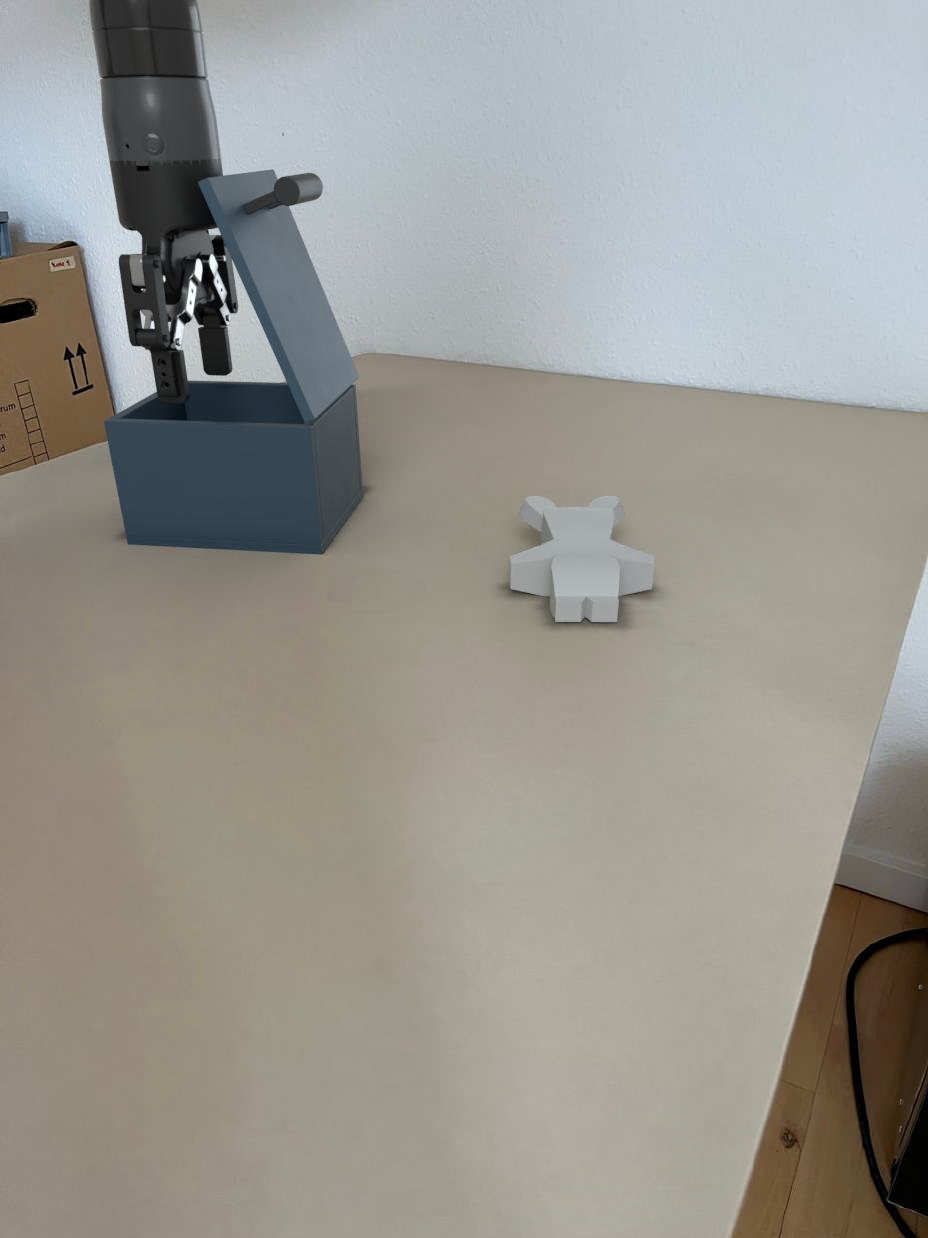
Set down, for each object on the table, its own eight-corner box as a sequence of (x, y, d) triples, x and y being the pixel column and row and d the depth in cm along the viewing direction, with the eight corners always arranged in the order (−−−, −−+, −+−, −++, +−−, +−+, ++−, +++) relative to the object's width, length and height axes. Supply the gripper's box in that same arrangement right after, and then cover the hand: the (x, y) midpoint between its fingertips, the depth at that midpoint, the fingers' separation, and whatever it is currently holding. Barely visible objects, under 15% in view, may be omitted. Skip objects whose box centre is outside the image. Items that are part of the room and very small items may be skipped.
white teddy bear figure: (510, 579, 57) (508, 471, 69) (509, 647, 60) (507, 532, 72) (667, 579, 57) (637, 471, 69) (659, 647, 60) (631, 532, 72)
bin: (127, 545, 73) (103, 420, 68) (193, 490, 84) (176, 379, 79) (321, 555, 71) (310, 427, 66) (363, 497, 82) (355, 384, 77)
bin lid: (197, 181, 60) (265, 150, 58) (264, 173, 71) (323, 146, 69) (304, 423, 66) (368, 400, 64) (351, 380, 77) (406, 360, 76)
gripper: (159, 151, 72) (189, 365, 79) (60, 157, 59) (107, 410, 67) (252, 151, 71) (274, 368, 78) (172, 156, 58) (207, 414, 66)
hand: (197, 387), depth 73 cm, fingers open, 8 cm apart
